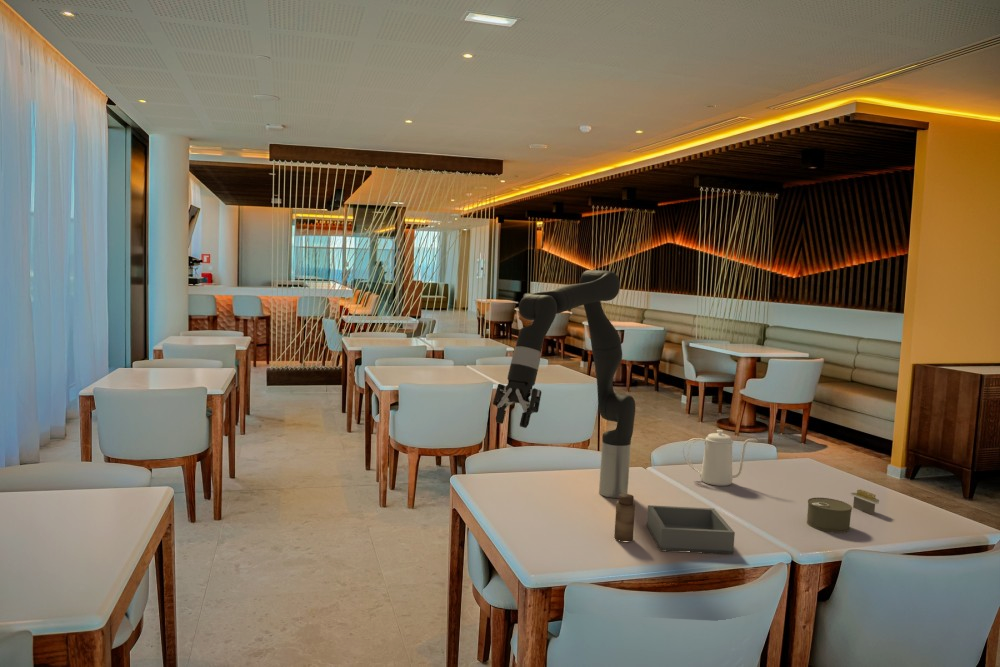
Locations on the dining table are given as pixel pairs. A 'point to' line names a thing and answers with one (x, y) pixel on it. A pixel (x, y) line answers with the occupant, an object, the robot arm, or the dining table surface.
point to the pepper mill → (624, 518)
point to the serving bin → (690, 529)
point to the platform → (864, 501)
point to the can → (829, 515)
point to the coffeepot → (718, 459)
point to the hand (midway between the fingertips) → (510, 425)
